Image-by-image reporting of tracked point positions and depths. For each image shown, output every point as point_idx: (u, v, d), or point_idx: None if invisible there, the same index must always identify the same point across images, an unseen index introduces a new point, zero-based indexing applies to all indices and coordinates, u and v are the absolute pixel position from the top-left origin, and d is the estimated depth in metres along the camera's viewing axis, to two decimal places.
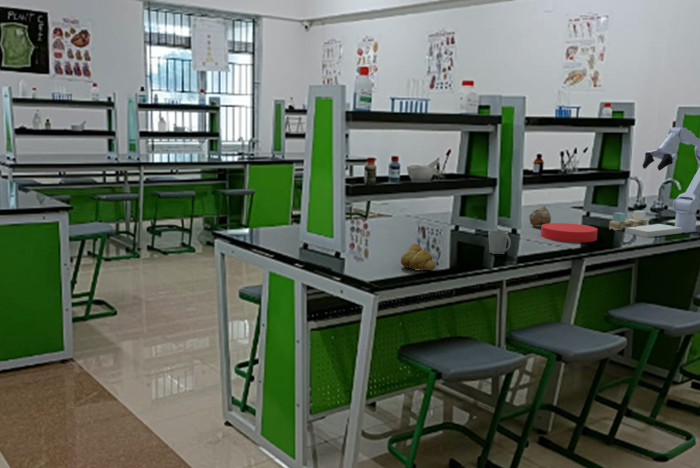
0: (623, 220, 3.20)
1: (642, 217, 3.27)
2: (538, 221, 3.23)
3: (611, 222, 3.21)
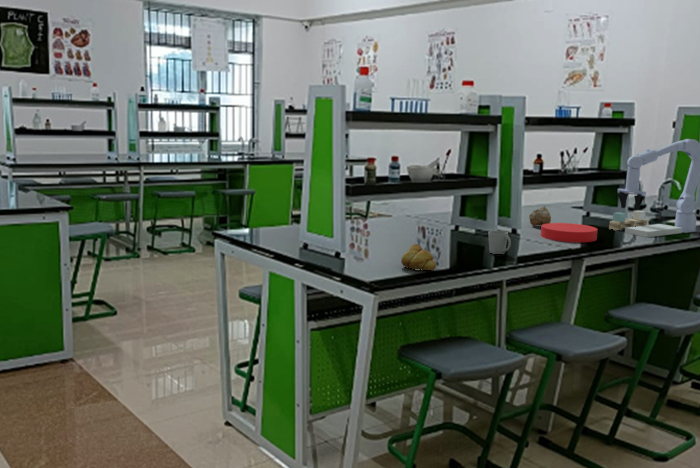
0: (623, 220, 3.20)
1: (642, 217, 3.27)
2: (538, 221, 3.23)
3: (611, 222, 3.21)
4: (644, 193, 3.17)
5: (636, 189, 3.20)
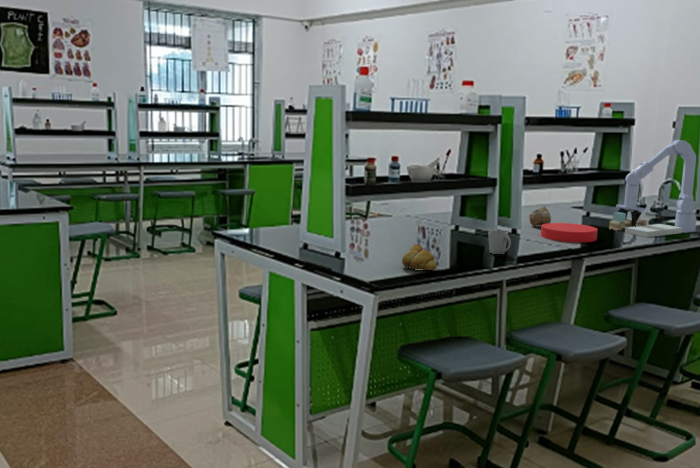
0: (623, 220, 3.20)
1: (642, 217, 3.27)
2: (538, 221, 3.23)
3: (611, 222, 3.21)
4: (642, 209, 3.18)
5: (634, 205, 3.22)
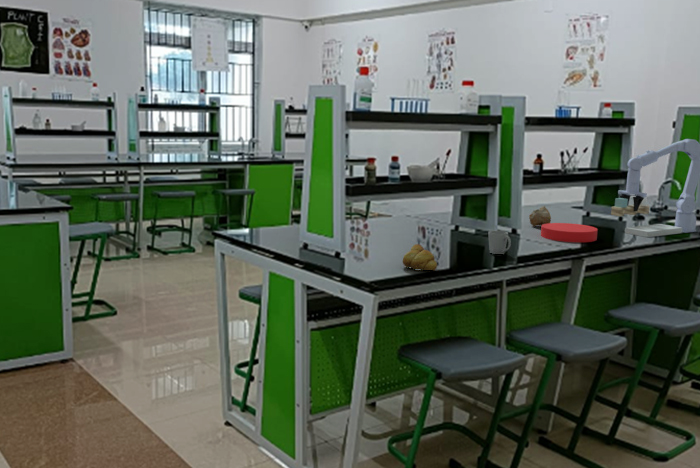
0: (625, 206, 3.19)
1: (644, 203, 3.26)
2: (538, 221, 3.23)
3: (613, 208, 3.20)
4: (645, 195, 3.17)
5: (637, 191, 3.20)
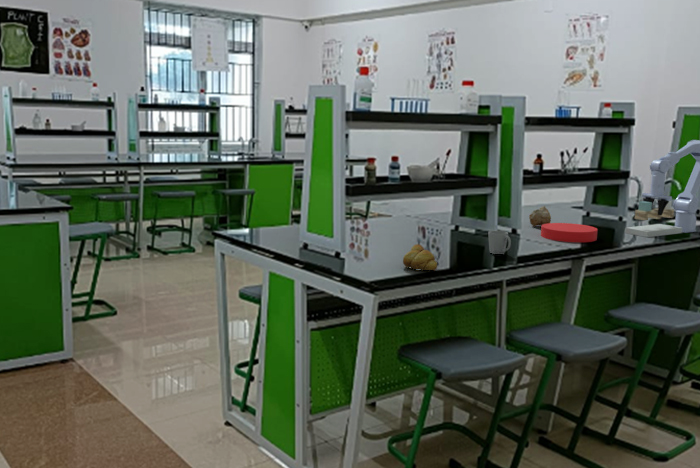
0: (649, 209, 3.08)
1: (668, 207, 3.15)
2: (538, 221, 3.23)
3: (637, 211, 3.09)
4: (670, 198, 3.06)
5: (661, 194, 3.09)
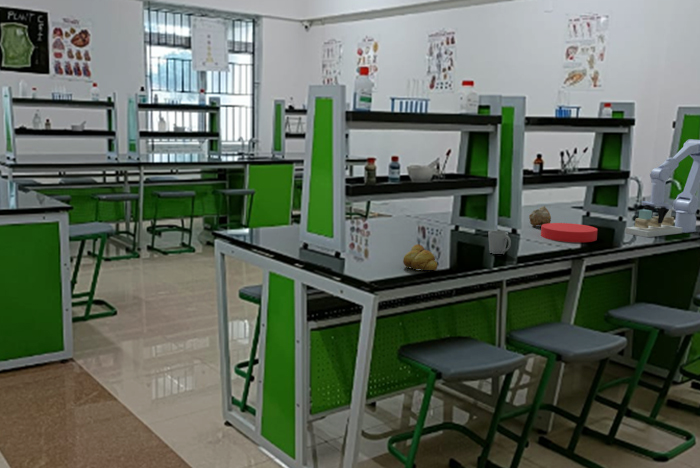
0: (649, 217, 3.08)
1: (668, 215, 3.15)
2: (538, 221, 3.23)
3: (637, 220, 3.09)
4: (670, 206, 3.06)
5: (661, 202, 3.09)
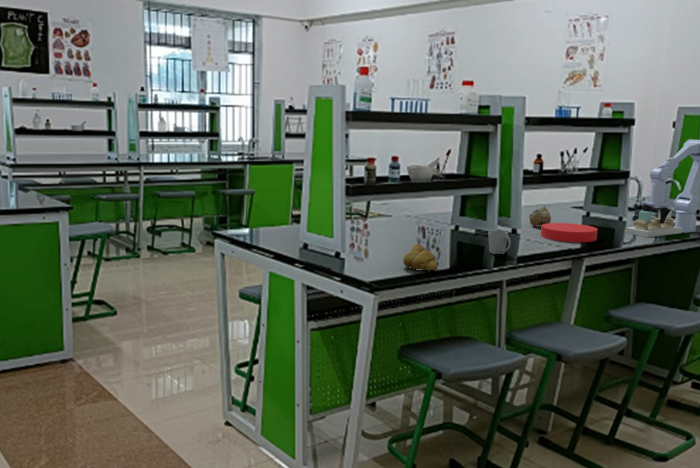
0: (649, 219, 3.08)
1: (668, 216, 3.15)
2: (538, 221, 3.23)
3: (637, 221, 3.09)
4: (670, 206, 3.06)
5: (661, 202, 3.09)
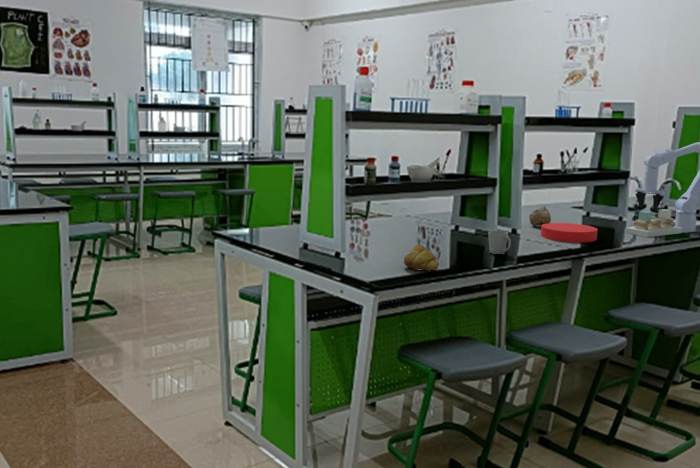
0: (649, 219, 3.08)
1: (668, 216, 3.15)
2: (538, 221, 3.23)
3: (637, 221, 3.09)
4: (663, 193, 3.13)
5: (654, 189, 3.16)
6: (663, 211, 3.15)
